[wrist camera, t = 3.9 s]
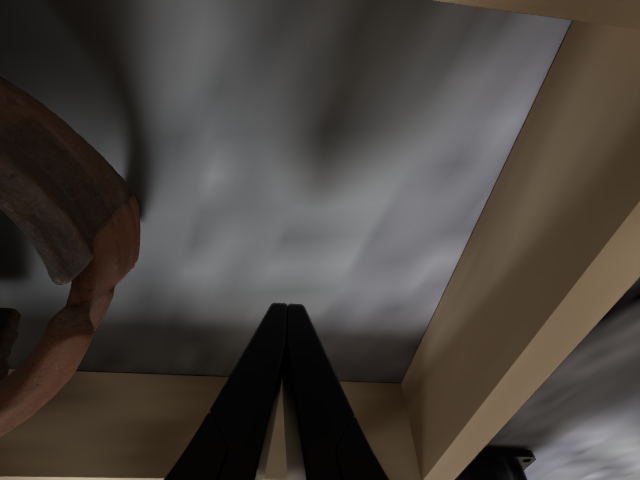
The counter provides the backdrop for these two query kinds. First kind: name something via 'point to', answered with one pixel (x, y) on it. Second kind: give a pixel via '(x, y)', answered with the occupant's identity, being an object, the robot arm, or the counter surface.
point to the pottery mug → (59, 242)
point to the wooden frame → (456, 303)
